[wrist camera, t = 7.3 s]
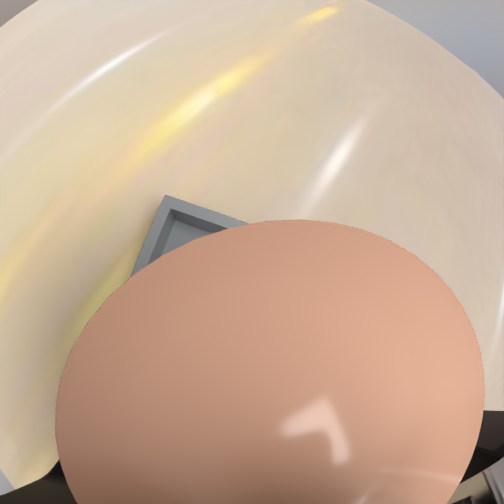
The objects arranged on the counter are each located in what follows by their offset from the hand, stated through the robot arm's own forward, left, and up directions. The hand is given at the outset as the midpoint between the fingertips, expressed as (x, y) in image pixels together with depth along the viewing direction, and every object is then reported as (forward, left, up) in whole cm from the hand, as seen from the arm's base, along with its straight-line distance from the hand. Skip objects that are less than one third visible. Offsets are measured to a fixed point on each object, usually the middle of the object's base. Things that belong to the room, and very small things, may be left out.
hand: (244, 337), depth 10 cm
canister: (-1, +1, -7) cm, 7 cm away
